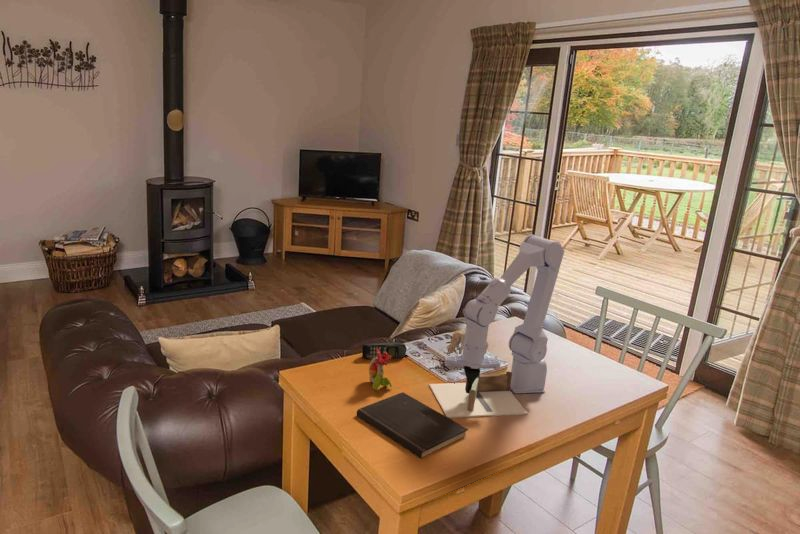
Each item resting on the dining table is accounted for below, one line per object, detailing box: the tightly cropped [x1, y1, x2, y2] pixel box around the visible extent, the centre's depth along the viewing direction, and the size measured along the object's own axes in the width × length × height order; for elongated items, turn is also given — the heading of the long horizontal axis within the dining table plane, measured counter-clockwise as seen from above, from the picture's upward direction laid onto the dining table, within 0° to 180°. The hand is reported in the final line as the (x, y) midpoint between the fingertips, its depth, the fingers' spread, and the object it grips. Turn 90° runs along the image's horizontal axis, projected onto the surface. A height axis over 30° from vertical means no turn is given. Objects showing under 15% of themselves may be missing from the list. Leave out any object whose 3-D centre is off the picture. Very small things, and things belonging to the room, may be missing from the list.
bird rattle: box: [368, 349, 393, 391], centre depth 161 cm, size 6×11×9 cm
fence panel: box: [468, 378, 479, 411], centre depth 156 cm, size 11×2×5 cm, turn 167°
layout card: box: [428, 382, 529, 419], centre depth 159 cm, size 22×18×1 cm
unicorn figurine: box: [446, 328, 490, 355], centre depth 185 cm, size 7×20×13 cm, turn 138°
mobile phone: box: [361, 341, 407, 360], centre depth 181 cm, size 5×3×15 cm
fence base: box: [477, 371, 512, 392], centre depth 163 cm, size 11×2×5 cm, turn 102°
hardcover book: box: [356, 391, 469, 459], centre depth 143 cm, size 16×23×2 cm
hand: (468, 391), depth 156 cm, fingers closed, pressing on fence panel
